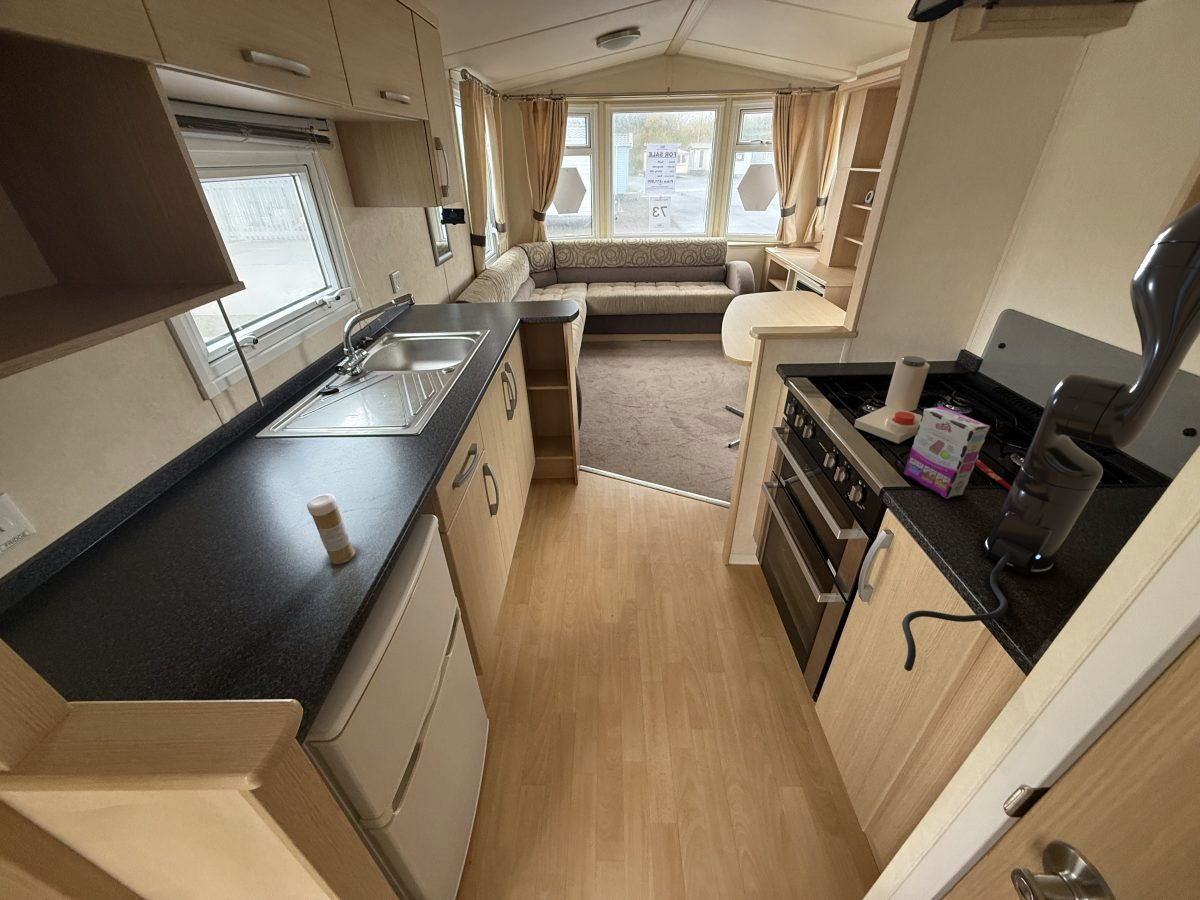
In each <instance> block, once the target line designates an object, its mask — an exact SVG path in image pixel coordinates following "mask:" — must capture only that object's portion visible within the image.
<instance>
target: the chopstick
mask: <svg viewBox="0 0 1200 900" xmlns="http://www.w3.org/2000/svg"><path fill="white" fill-rule="evenodd" d="M975 466H976V467H977V468H978V469H979V470H981V471H982V472H984V473H985V474H986V475H988V476H989V477H990V478H992V479H993V480H995V481H996V482H997V483H998V484H1000V485H1001V486H1003V487H1004V488H1005V489H1007V490H1008V491H1010V489H1011V487H1012V485H1010V484H1009V483H1008V482H1006V480H1004V479H1003V478H1001V476H999V475H998V474H997V473H995V472H994V471H993V470H992V469H991V468H990V467H988V466H987V465H986V464H985V463H984V462H982V461H981V460H980V459H979V458H977V461H976V463H975Z"/></svg>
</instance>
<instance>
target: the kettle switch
mask: <svg viewBox="0 0 1200 900" xmlns="http://www.w3.org/2000/svg"><path fill="white" fill-rule="evenodd" d="M914 418H915V416H914V415H913V414H911V413H908V412H896V413H895V416H894V419H893V421H894V422H895V423H898V424H900V425H912V424H913V421H914Z"/></svg>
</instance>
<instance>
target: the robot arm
mask: <svg viewBox="0 0 1200 900" xmlns="http://www.w3.org/2000/svg"><path fill="white" fill-rule="evenodd" d="M1129 296H1130V297H1129V298H1130V302H1131V307H1132V310H1133V314H1134V318H1135V320H1136V325H1137V327H1138V332H1139V336H1140V343H1141V365H1140V370H1139V374H1138V377H1137V379H1136V381H1135V383H1134V384H1131V383H1126V382H1122V381H1118V380H1113V379H1108V378H1103V377H1099V376H1095V375H1089V374H1083V373H1072V374H1068V375H1066V376H1064V377H1063V378H1062V379H1061V380H1060V381H1058V383H1057V384H1056V385H1055V387H1054V388H1053V390H1052V391H1051V394H1050V395H1049V397H1048V399H1047V401H1046V403H1045V406H1044V408H1043V411H1042V414H1041V417H1040V420H1039V422H1038V425H1037V428H1036V430H1035V433H1034V435H1033V437H1032V440H1031V442H1030V445H1029V447H1028V449H1027V452H1026V454H1025V457H1024V459H1023V461H1022V463H1021V465H1020V468H1019V470H1018V472H1017V474H1016V476H1015V479H1014V480H1013V482H1012V485H1011V489H1010V490H1008V493H1007V495H1006V498H1005V500H1004V502H1003V504H1002V506H1001V508H1000V510H999V513H998V515H997V517H996V520H995V522H994V524H993V526H992V529H991V531H990V533H989V534H988V537H987V538H986V540H985V541H984V545H983V546H984V550H985V552H986V553H985V555H984V556H985V557H986V558H988V559H991V560H992V561H994V562H996V563H997V564H996V565H995V567H994V568H993V570H992V571H991V573H990V577H989V583H990V587H991V590H992V591H993V593H994V595H995V597H997V599H998V601H999V606H998V607H997V609H995V610H992V611H991V612H986V613H979V614H968V615H960V614H959V615H958V614H950V613H945V612H940V611H933V610H924V609H923V610H922V609H921V610H915V611H911V612H909V613H907V614H906V615H905V616H904V617H903V619H902V622H901V625H902V630H903V631H902V632H903V633H904V637H905V640H906V644H907V655H906V660H905V662H904V666H903V668H904V670H905V671H907V672H911V671H913V668H914V666H915V661H916V657H917V648H916V642H915V639H914V636H913V633H912V630H911V622H912V621H913V620H915V619H917V618H923V617H925V618H933V619H937V620H938V619H939V620H944V621H949V622H957V623H971V622H981V621H989V620H994V619H997V618H1000V617H1001V616H1003V615H1004V614H1005V613H1006V612H1007V610H1008V608H1009V603H1008V600H1007V598H1006V596H1005V595H1004V594H1003V592H1002V591H1001V589H1000V587H999V584H998V579H999V575H1000V574H1001V572H1002V571H1003V569H1005V567H1007V568H1009V569H1011V570H1013V571H1015V572H1017V573H1019V574H1021V575H1023V576H1026V577H1028V576H1029V575H1031V574H1032V575H1043V574H1046V573H1048V572H1049V571H1051V569H1052V567H1053V566H1054V562H1055V561H1056V559H1057V558H1058V555H1059V554H1060V551H1061V550H1062V548H1063V546H1064V544H1065V543H1066V541H1067V539H1068V537H1069V536H1070V534H1071V532H1072V530H1073V529H1074V526H1075V524H1076V523H1077V521H1078V519H1079V517H1080V516H1081V514H1082V513H1083V510H1084V509H1085V507H1086V505H1087V504H1088V502H1089V500H1090V498H1091V497H1092V495H1093V493H1094V491H1095V490H1096V487H1098V484H1099V483H1100V481H1101V479H1102V477H1103V475H1104V468H1103V466H1102V464H1101V463H1100V462H1099V461H1098V460H1097V459H1095V458H1094V457H1093V456H1091V455H1090V454H1088V453H1087V452H1085V451H1084V450H1083V449H1081V448H1080V447H1079V446H1078V445H1077V444H1076V443H1074V441H1073V440H1072V439H1071V438H1073V439H1076V440H1080V441H1083V442H1087V443H1089V444H1093V445H1095V446H1096V445H1097V446H1100V447H1103V448H1107V449H1111V450H1116V451H1117V450H1120V451H1121V450H1124V449H1127V448H1128V447H1130V446H1132V445H1133V444H1134V443H1135V442H1136V441H1137V440H1138V439H1139V438H1140V437H1141V436H1142V434H1143V433H1144V432H1145V430H1146V429H1147V427H1148V425H1150V424H1149V423H1150V422H1151V420H1152V418H1153V417H1154V415H1155V413H1156V412H1157V410H1158V409H1159V406H1160V405H1161V402H1162V401H1163V399H1164V397H1165V395H1166V393H1167V392H1168V390H1169V388H1170V385H1172V382H1173V381H1174V379H1175V377H1176V375H1177V374H1178V372H1179V369H1180V368H1181V365H1182V364H1183V363H1184V361H1185V359H1186V357H1187V355H1188V353H1189V351H1190V350H1191V348H1192V346H1193V345H1194V343H1195V342H1196V340H1197V339H1198V337H1199V335H1200V201H1199V202H1198V203H1196V204H1194V205H1193V206H1192V207H1190V208H1189V209H1187V210H1186V211H1184V212H1183V213H1181V214H1180V215H1179V216H1177V217H1176V218H1175V219H1173V220H1172V221H1171V222H1170V223H1168V224H1167V225H1166V226H1165V227H1164V228H1163V229H1162V230H1160V231H1159V233H1157V235H1156V236H1155V237H1154V239H1153V241H1152V242H1151V244H1150V245H1149V248H1148V250H1147V252H1146V253H1145V254H1144V256H1143V258H1142V260H1141V262H1140V264H1139V265H1138V267H1137V269H1136V270H1135V272H1134V274H1133V275H1132V277H1131V281H1130V285H1129Z"/></svg>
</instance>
